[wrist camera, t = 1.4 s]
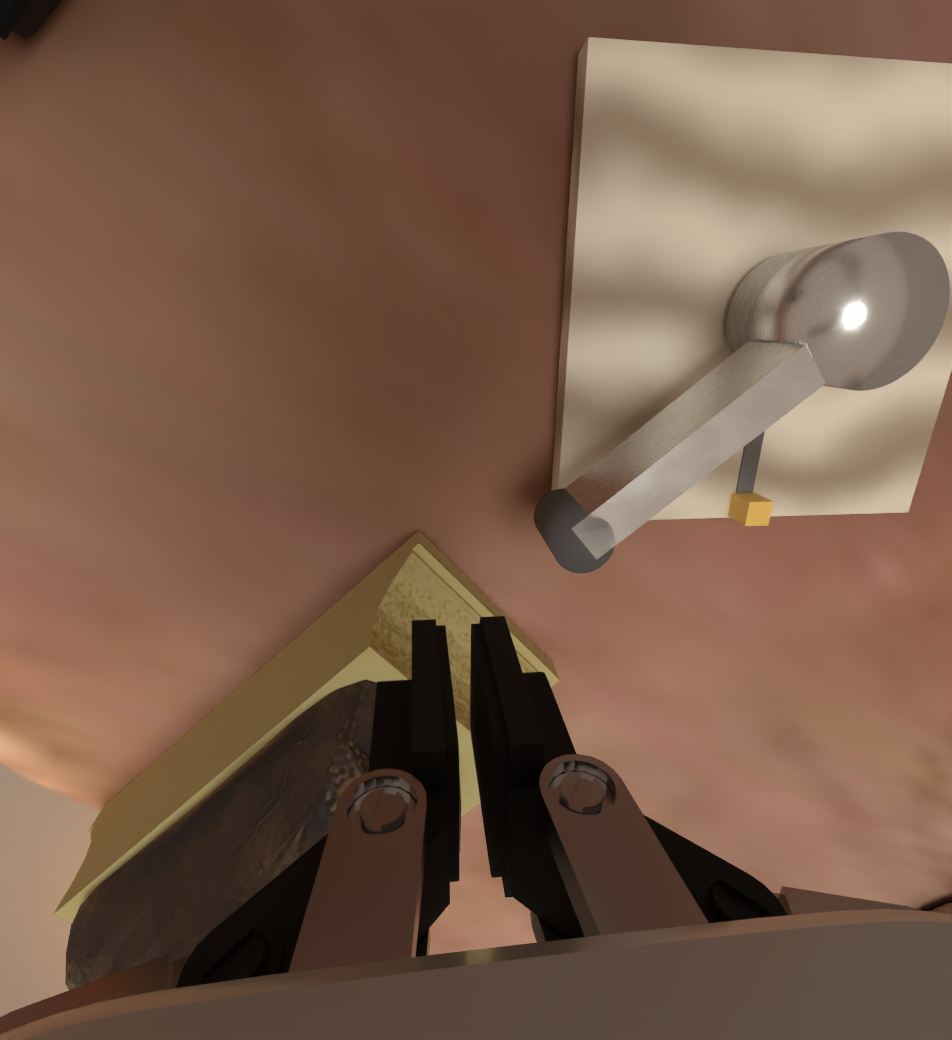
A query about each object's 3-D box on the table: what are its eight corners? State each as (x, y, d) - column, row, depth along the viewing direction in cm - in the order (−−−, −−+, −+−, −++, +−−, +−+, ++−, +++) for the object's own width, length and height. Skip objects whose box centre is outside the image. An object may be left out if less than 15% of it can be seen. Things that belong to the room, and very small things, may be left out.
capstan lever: (808, 223, 26) (918, 195, 20) (857, 325, 28) (969, 326, 22) (497, 479, 28) (518, 516, 23) (562, 555, 30) (596, 607, 25)
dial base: (578, 53, 24) (601, 15, 21) (1009, 83, 27) (1084, 53, 24) (549, 513, 32) (564, 533, 29) (887, 504, 34) (933, 521, 31)
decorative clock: (258, 891, 40) (-111, 2267, 12) (105, 803, 35) (-1062, 2632, 7) (551, 660, 35) (1078, 1919, 7) (418, 529, 31) (484, 2289, 3)
